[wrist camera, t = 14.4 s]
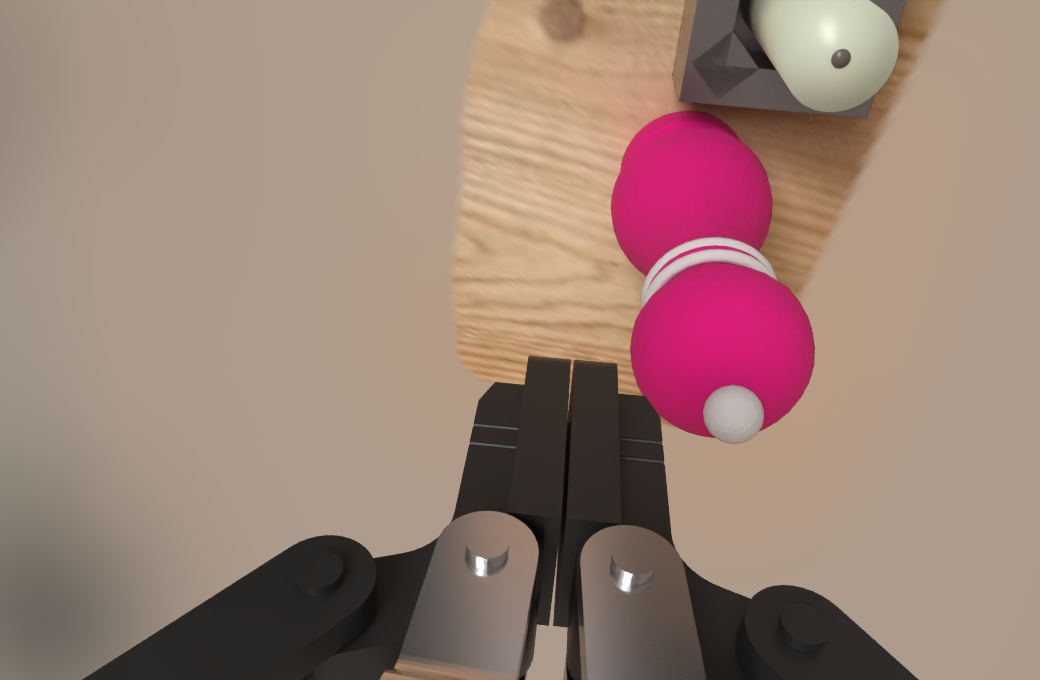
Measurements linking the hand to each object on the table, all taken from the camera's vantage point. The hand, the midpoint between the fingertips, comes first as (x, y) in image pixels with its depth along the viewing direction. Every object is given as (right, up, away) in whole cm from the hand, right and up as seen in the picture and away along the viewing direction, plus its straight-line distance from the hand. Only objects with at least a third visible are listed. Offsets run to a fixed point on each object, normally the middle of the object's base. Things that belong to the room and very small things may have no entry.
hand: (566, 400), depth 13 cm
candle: (+11, +16, +20) cm, 27 cm away
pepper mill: (+7, +10, +26) cm, 28 cm away
